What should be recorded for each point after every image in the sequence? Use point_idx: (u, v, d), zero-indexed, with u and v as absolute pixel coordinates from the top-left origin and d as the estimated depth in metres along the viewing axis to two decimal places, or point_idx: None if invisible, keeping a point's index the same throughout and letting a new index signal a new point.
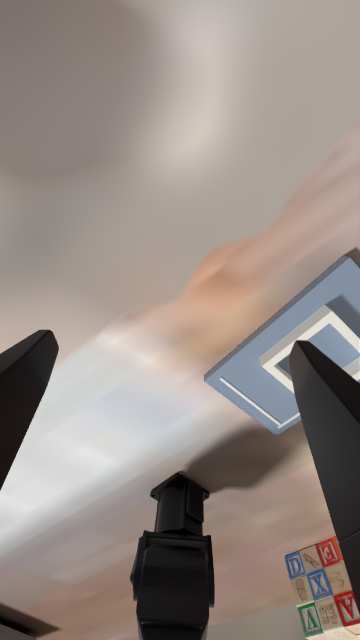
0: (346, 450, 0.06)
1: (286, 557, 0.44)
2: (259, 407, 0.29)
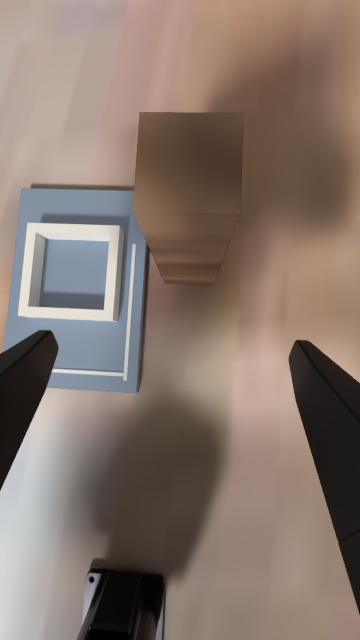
0: (346, 450, 0.06)
1: None
2: (80, 370, 0.22)
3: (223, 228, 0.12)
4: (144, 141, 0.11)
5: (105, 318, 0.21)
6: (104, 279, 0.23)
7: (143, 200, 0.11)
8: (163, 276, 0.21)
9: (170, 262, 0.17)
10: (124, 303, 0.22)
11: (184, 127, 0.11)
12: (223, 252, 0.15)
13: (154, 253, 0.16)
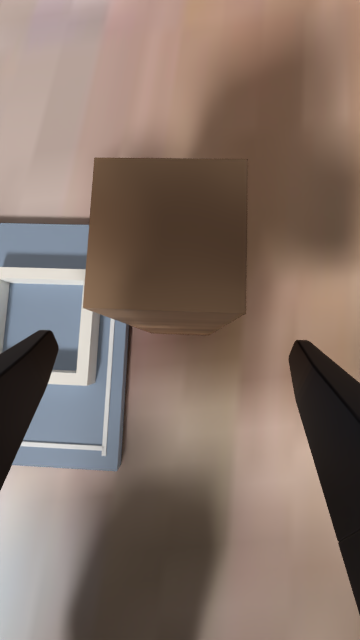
0: (346, 450, 0.06)
1: None
2: (50, 443, 0.18)
3: (220, 318, 0.08)
4: (101, 201, 0.07)
5: (78, 383, 0.17)
6: (79, 331, 0.19)
7: (99, 291, 0.07)
8: (148, 331, 0.17)
9: (153, 327, 0.14)
10: (103, 360, 0.19)
11: (160, 180, 0.07)
12: (220, 326, 0.11)
13: (131, 324, 0.12)
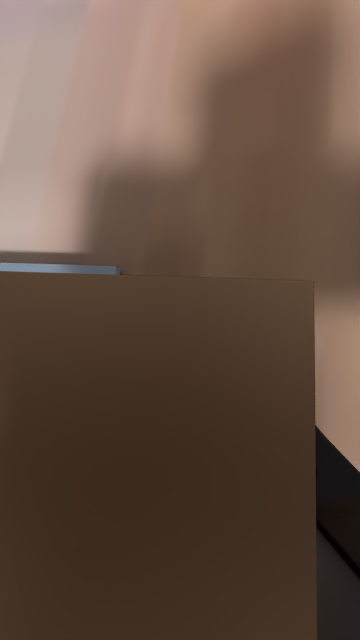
0: None
1: None
2: None
3: None
4: None
5: None
6: None
7: None
8: None
9: None
10: None
11: (115, 326, 0.03)
12: None
13: None
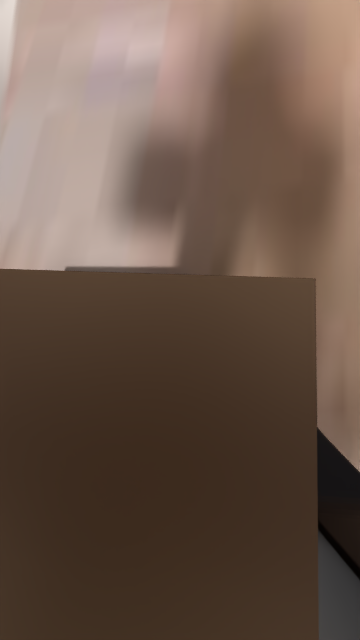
0: None
1: None
2: None
3: None
4: None
5: None
6: None
7: None
8: None
9: None
10: None
11: (117, 323, 0.03)
12: None
13: None
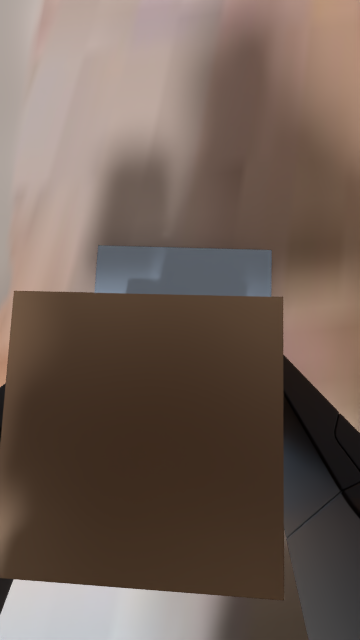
0: (290, 447, 0.06)
1: None
2: None
3: None
4: (24, 371, 0.04)
5: None
6: None
7: (18, 545, 0.04)
8: None
9: None
10: None
11: (128, 334, 0.04)
12: None
13: None
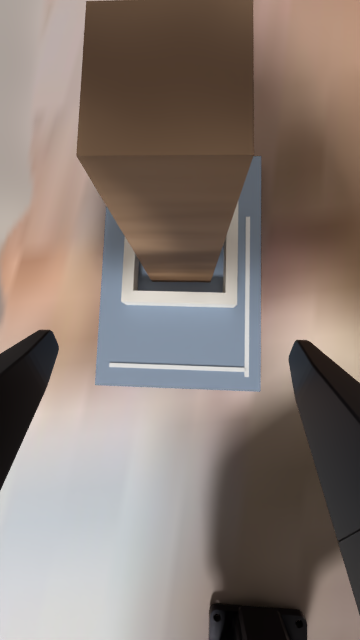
0: (346, 450, 0.06)
1: None
2: (192, 366, 0.19)
3: (225, 188, 0.08)
4: (94, 46, 0.07)
5: (228, 302, 0.17)
6: None
7: (94, 138, 0.06)
8: (148, 272, 0.17)
9: (153, 251, 0.13)
10: (240, 286, 0.19)
11: (158, 21, 0.07)
12: (224, 233, 0.11)
13: (130, 239, 0.11)
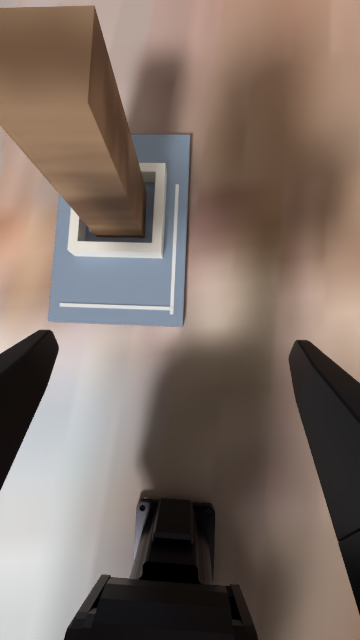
0: (346, 450, 0.06)
1: None
2: (127, 305, 0.23)
3: (88, 130, 0.12)
4: None
5: (153, 251, 0.21)
6: (148, 218, 0.23)
7: None
8: (87, 224, 0.21)
9: (77, 197, 0.17)
10: (168, 241, 0.23)
11: (35, 21, 0.11)
12: (116, 175, 0.15)
13: (52, 182, 0.15)
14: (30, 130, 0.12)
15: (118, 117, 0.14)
